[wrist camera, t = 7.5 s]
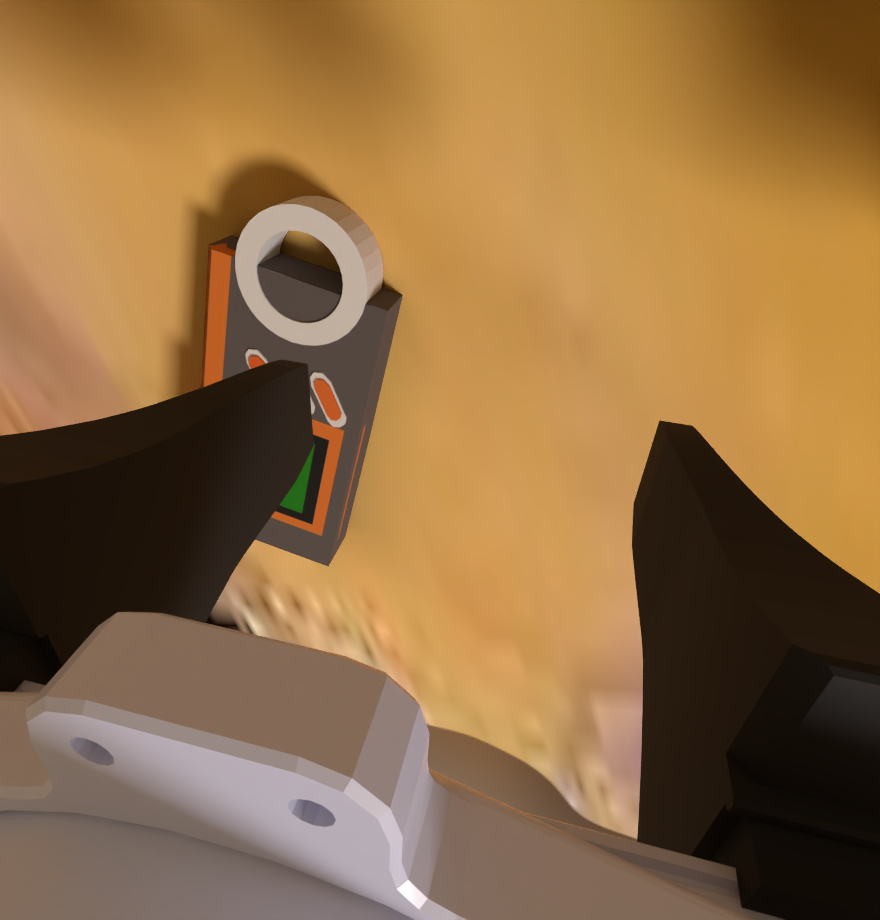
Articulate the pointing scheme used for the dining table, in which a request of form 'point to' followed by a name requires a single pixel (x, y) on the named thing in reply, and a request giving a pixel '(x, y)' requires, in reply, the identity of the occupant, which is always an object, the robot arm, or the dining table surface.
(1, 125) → the dining table surface
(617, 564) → the dining table surface
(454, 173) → the dining table surface
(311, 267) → the electronic device
